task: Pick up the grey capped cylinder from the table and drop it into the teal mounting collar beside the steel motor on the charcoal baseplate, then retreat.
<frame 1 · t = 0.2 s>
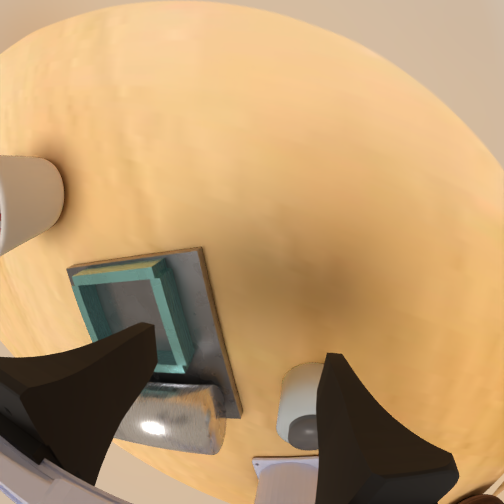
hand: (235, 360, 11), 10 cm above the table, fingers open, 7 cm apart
cup: (40, 186, 22), on the table
wooden sphere: (464, 500, 28), on the table
grey capped cylinder: (311, 385, 23), on the table
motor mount: (154, 344, 24), on the table
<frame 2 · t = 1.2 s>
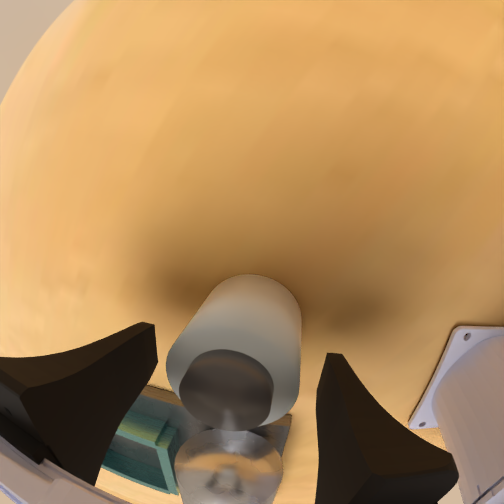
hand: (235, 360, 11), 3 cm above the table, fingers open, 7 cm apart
grey capped cylinder: (252, 320, 15), on the table
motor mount: (175, 445, 19), on the table
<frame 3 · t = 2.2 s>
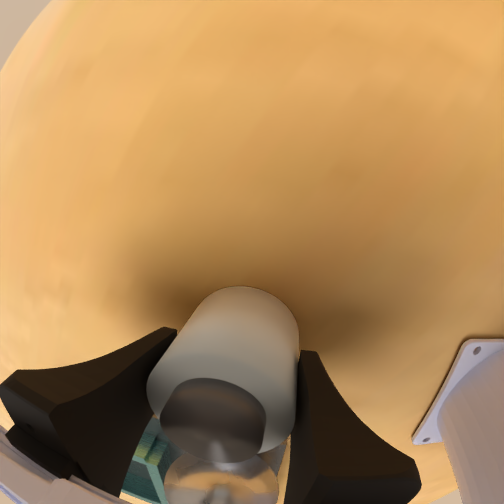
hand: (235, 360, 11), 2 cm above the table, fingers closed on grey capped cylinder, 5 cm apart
grey capped cylinder: (244, 336, 13), on the table, touching gripper
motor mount: (168, 458, 18), on the table
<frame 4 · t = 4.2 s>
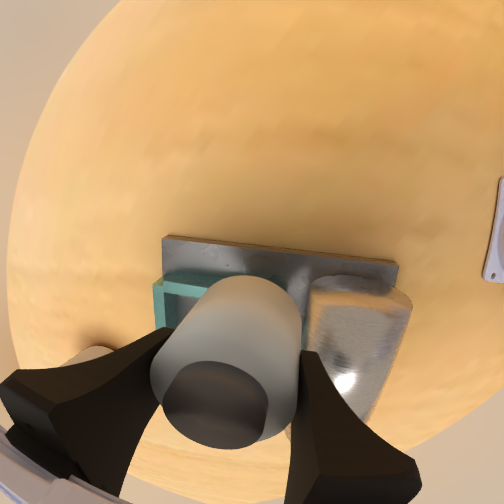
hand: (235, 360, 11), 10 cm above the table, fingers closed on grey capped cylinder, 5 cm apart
cup: (108, 372, 27), on the table
grey capped cylinder: (247, 325, 14), point 7 cm above the table, touching gripper
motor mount: (270, 331, 22), on the table
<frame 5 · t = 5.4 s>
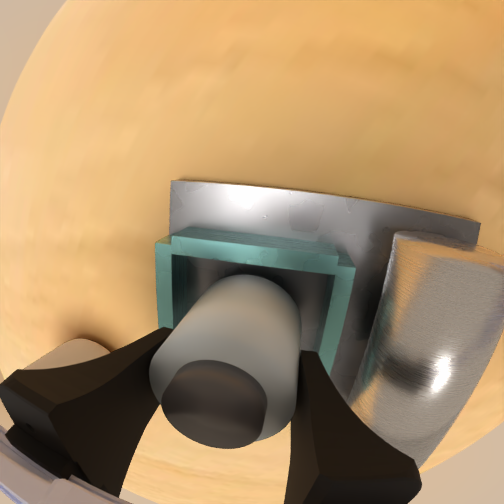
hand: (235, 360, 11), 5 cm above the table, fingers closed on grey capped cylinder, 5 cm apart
cup: (95, 373, 20), on the table
grey capped cylinder: (247, 325, 14), point 3 cm above the table, touching gripper
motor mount: (317, 315, 16), on the table
when the fingers open (4 cm above the table, at t = 6.4 s): grey capped cylinder drops 1 cm, resting on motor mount.
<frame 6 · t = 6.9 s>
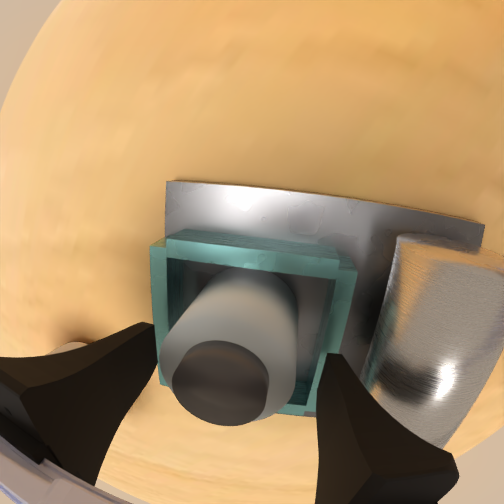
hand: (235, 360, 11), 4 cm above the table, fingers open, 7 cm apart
grey capped cylinder: (247, 313, 15), point 1 cm above the table, touching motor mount
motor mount: (317, 320, 15), on the table
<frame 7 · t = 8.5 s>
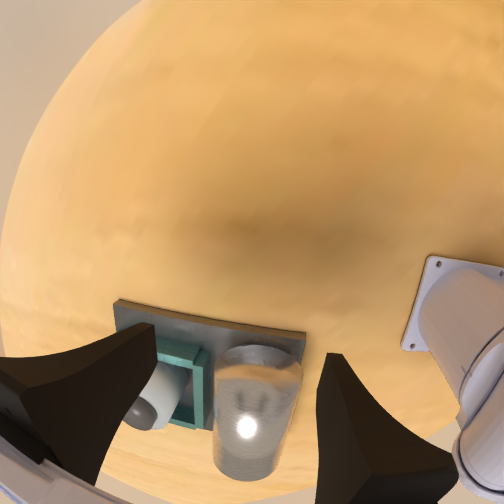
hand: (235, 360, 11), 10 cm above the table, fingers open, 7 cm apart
grey capped cylinder: (162, 372, 24), point 1 cm above the table, touching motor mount
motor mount: (203, 378, 25), on the table
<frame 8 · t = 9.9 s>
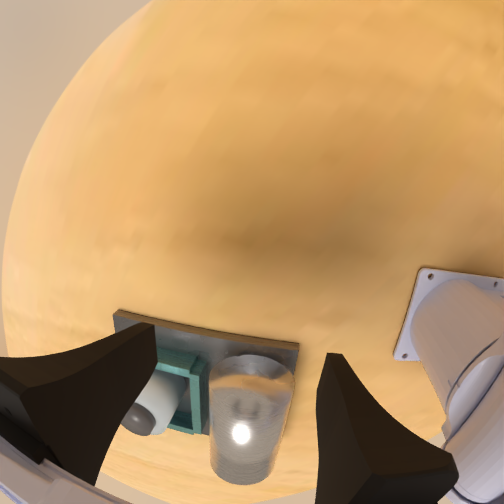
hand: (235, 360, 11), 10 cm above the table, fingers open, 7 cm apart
grey capped cylinder: (161, 379, 25), point 1 cm above the table, touching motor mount
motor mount: (201, 385, 25), on the table
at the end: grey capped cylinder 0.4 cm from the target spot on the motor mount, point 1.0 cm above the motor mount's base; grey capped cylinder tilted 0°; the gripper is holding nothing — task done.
